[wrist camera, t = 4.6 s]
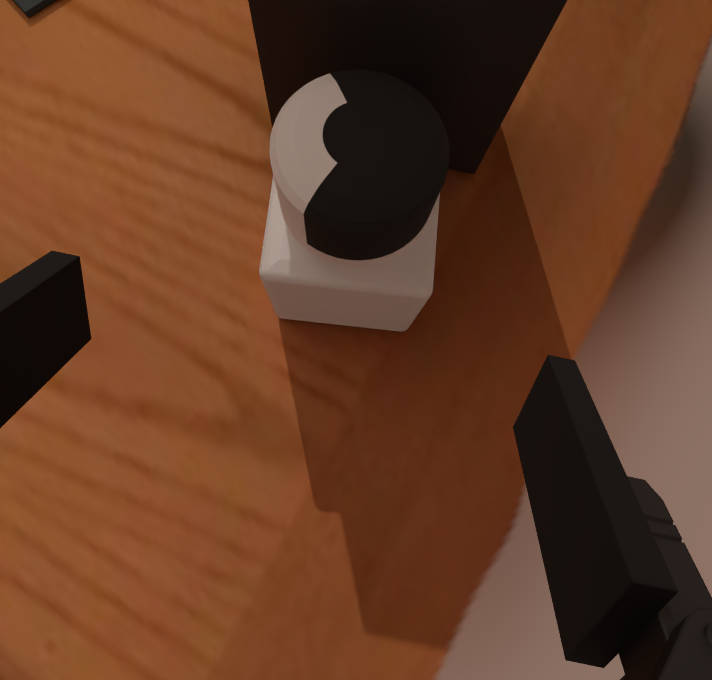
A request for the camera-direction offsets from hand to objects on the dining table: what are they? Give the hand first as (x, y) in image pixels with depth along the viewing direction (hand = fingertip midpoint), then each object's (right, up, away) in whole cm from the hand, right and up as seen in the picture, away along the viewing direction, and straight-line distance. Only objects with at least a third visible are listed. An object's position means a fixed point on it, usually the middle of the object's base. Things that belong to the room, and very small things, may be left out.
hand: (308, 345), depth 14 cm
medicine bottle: (+1, +4, +14) cm, 14 cm away
